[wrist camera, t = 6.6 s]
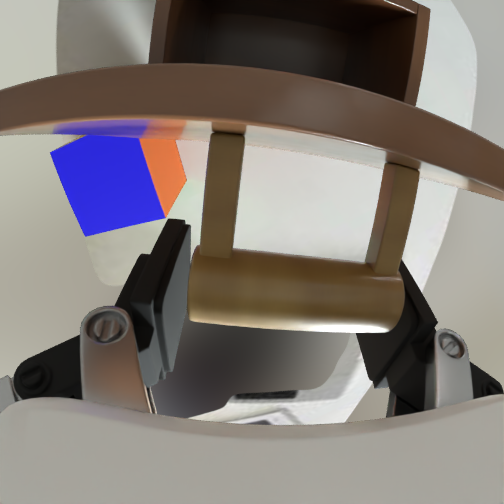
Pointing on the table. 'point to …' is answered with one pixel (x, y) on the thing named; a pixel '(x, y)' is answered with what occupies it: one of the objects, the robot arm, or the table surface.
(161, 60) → the chest
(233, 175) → the wooden box lid
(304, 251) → the table surface
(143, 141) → the cube
